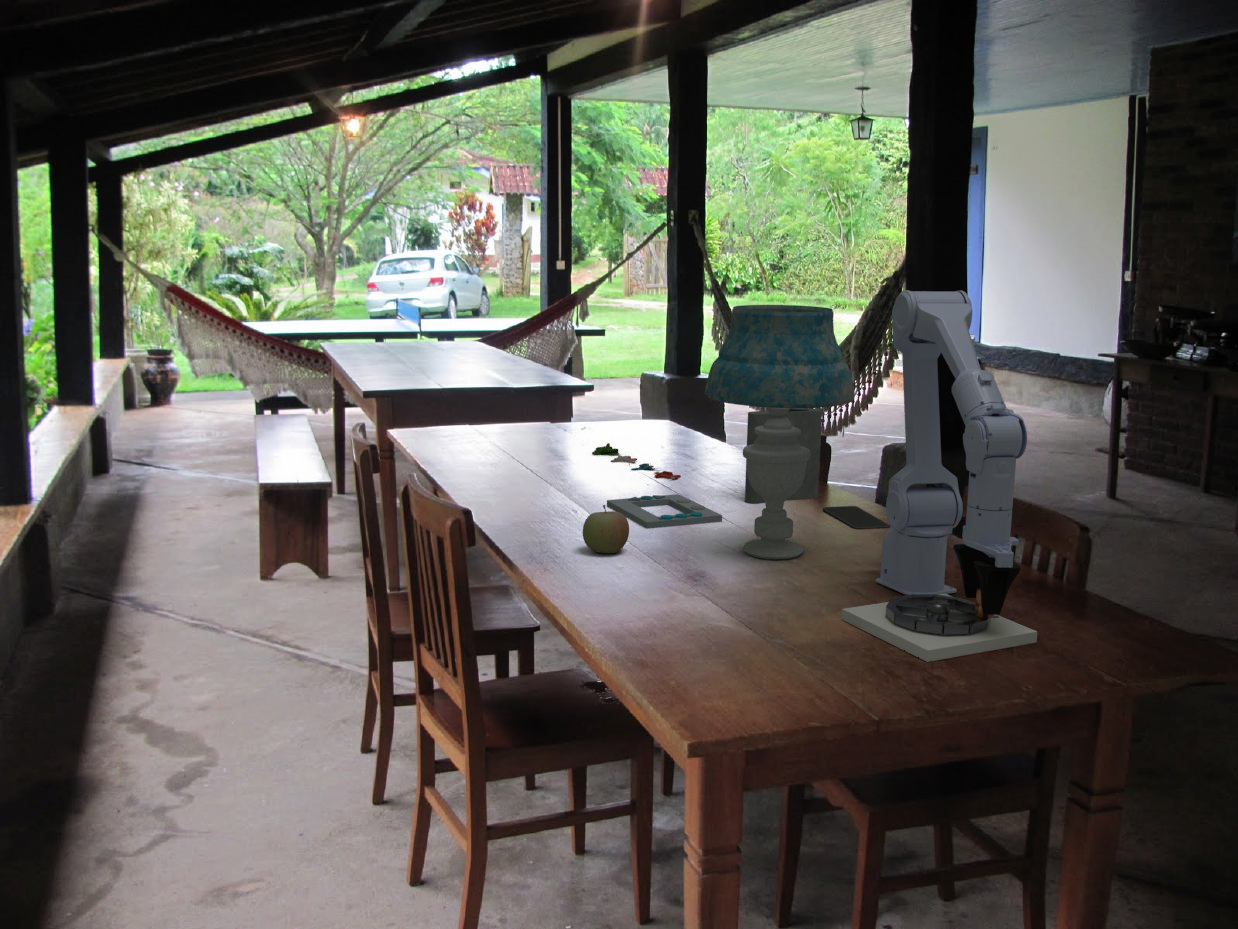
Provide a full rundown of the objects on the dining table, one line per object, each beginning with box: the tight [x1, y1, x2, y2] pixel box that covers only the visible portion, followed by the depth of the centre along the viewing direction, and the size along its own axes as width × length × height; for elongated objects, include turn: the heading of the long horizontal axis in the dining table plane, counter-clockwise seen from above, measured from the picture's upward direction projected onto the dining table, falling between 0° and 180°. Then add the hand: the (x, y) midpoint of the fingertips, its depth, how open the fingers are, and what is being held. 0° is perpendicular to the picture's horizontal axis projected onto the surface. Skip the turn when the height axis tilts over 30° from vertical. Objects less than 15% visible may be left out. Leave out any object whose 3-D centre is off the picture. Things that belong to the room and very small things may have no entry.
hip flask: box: [744, 408, 823, 505], centre depth 239 cm, size 16×4×20 cm, turn 112°
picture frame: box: [606, 493, 723, 530], centre depth 228 cm, size 18×2×15 cm
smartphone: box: [822, 505, 891, 530], centre depth 226 cm, size 7×1×15 cm
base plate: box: [841, 594, 1038, 663], centre depth 165 cm, size 18×18×2 cm
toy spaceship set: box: [591, 442, 682, 480], centre depth 272 cm, size 35×6×3 cm, turn 28°
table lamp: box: [704, 304, 856, 561], centre depth 198 cm, size 24×24×40 cm
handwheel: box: [886, 588, 994, 634], centre depth 164 cm, size 14×13×5 cm
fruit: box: [582, 504, 630, 554], centre depth 201 cm, size 8×7×8 cm
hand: (982, 605), depth 164 cm, fingers open, 7 cm apart
